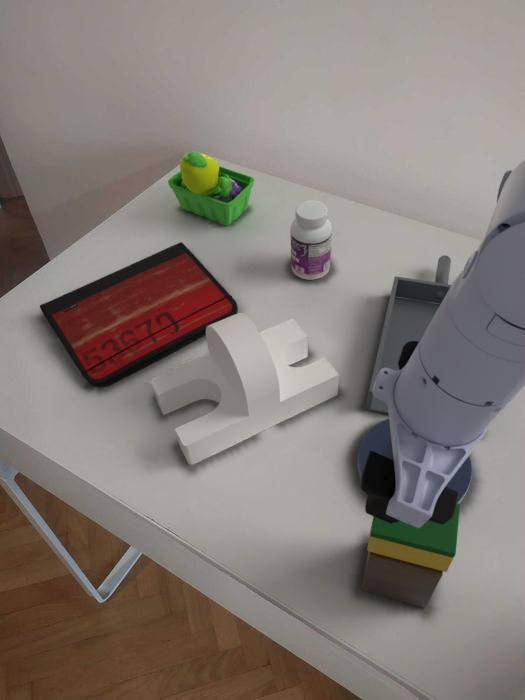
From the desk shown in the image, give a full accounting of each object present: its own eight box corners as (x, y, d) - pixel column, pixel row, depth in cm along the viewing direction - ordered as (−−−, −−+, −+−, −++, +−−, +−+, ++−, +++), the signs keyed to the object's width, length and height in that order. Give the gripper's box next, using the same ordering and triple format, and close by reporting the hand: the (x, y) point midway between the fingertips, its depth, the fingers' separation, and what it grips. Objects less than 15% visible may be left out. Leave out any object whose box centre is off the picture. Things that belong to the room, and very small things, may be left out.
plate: (465, 532, 53) (468, 527, 52) (347, 503, 56) (348, 497, 55) (472, 434, 60) (475, 428, 59) (367, 412, 62) (368, 406, 62)
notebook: (37, 303, 73) (180, 238, 80) (43, 315, 75) (183, 251, 82) (90, 386, 65) (244, 306, 72) (95, 398, 66) (245, 318, 74)
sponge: (446, 572, 43) (455, 554, 40) (366, 551, 44) (370, 532, 42) (451, 523, 46) (460, 503, 43) (375, 504, 47) (379, 484, 44)
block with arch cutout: (293, 339, 70) (292, 270, 62) (337, 395, 64) (342, 327, 56) (155, 399, 65) (134, 333, 57) (189, 466, 59) (171, 403, 51)
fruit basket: (259, 206, 88) (254, 138, 80) (225, 238, 84) (216, 169, 75) (200, 186, 93) (190, 119, 84) (165, 215, 88) (150, 147, 80)
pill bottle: (284, 262, 79) (282, 203, 72) (318, 251, 81) (319, 191, 73) (302, 286, 76) (302, 227, 69) (337, 273, 77) (341, 214, 70)
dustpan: (475, 432, 60) (483, 414, 57) (366, 409, 63) (368, 391, 60) (487, 275, 76) (493, 255, 73) (399, 262, 78) (402, 242, 76)
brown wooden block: (425, 608, 49) (442, 574, 43) (361, 590, 50) (369, 555, 44) (431, 558, 52) (448, 519, 46) (370, 542, 53) (378, 502, 47)
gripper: (427, 251, 36) (368, 372, 47) (364, 441, 27) (310, 534, 38) (538, 292, 35) (451, 405, 46) (509, 501, 26) (411, 579, 37)
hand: (393, 467), depth 42 cm, fingers open, 7 cm apart
